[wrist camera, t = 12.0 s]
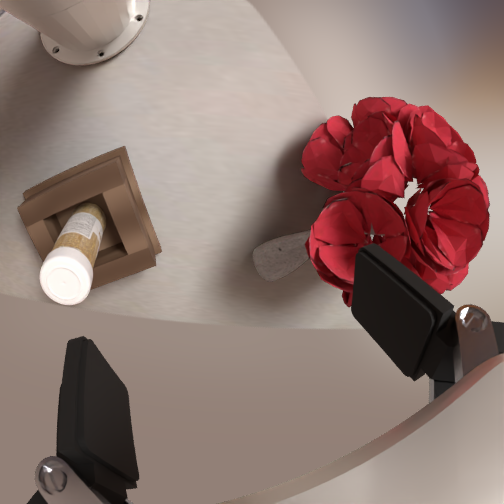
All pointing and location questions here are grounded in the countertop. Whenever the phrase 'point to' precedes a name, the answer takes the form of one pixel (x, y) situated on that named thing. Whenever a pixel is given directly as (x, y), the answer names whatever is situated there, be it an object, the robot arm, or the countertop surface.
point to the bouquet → (387, 198)
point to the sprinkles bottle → (74, 256)
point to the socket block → (110, 201)
